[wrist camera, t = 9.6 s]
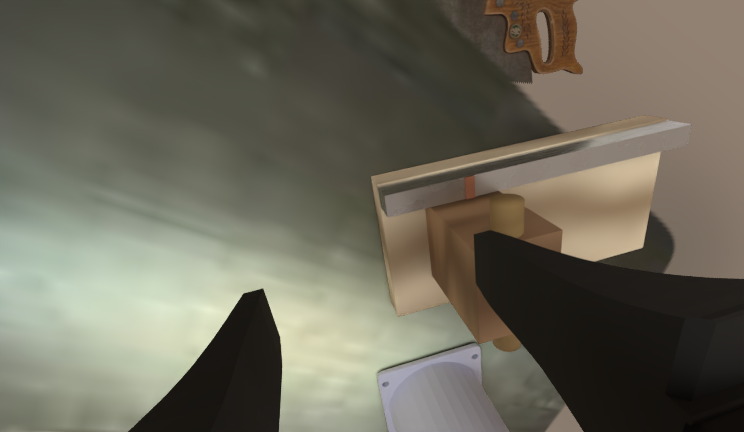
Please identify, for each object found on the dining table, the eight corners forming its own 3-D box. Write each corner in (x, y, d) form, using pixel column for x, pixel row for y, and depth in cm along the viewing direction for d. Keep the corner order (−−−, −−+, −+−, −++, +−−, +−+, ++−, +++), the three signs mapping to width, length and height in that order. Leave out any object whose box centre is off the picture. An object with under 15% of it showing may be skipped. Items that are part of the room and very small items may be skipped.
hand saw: (133, 115, 17) (128, 117, 17) (98, 5, 16) (91, 3, 15) (575, 79, 22) (584, 80, 21) (590, -11, 20) (600, -13, 19)
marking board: (624, 238, 27) (664, 258, 24) (391, 302, 24) (405, 333, 22) (644, 115, 23) (694, 122, 20) (370, 176, 21) (384, 194, 18)
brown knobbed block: (492, 278, 24) (554, 343, 18) (433, 295, 23) (480, 367, 18) (490, 160, 20) (565, 197, 15) (421, 176, 20) (474, 220, 14)
